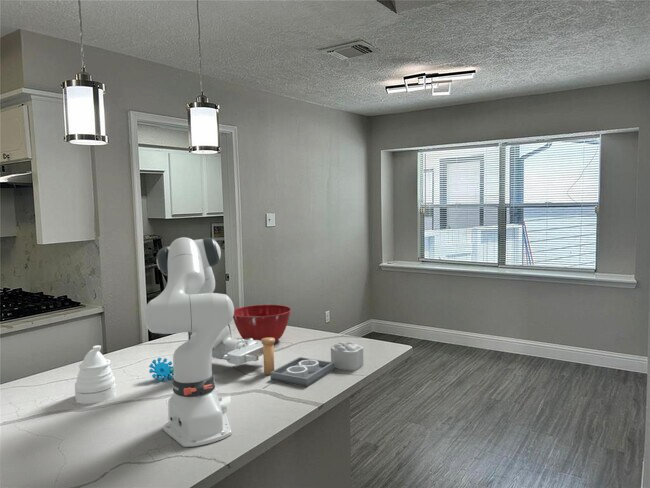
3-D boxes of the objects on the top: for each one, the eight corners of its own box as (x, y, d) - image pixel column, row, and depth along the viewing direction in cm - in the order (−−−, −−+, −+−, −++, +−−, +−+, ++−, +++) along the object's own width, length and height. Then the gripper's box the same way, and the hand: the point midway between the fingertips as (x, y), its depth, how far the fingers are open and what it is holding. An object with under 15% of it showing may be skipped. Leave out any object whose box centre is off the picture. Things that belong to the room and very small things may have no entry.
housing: (270, 380, 179) (270, 370, 178) (299, 364, 196) (299, 355, 196) (307, 387, 171) (306, 377, 170) (334, 369, 188) (333, 361, 188)
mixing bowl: (238, 334, 245) (237, 304, 244) (294, 332, 245) (293, 303, 243) (226, 350, 217) (225, 317, 215) (289, 349, 216) (288, 315, 215)
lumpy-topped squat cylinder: (353, 371, 186) (353, 349, 185) (325, 366, 193) (324, 345, 192) (366, 363, 194) (365, 342, 194) (338, 358, 201) (338, 338, 201)
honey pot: (124, 392, 171) (121, 342, 169) (93, 406, 159) (89, 353, 157) (98, 387, 176) (95, 339, 175) (67, 400, 164) (63, 349, 163)
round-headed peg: (278, 373, 185) (277, 339, 184) (265, 376, 183) (264, 341, 182) (272, 369, 190) (271, 336, 189) (260, 372, 187) (259, 338, 186)
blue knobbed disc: (153, 381, 176) (147, 357, 181) (148, 389, 179) (142, 366, 184) (181, 377, 184) (174, 355, 189) (176, 385, 187) (169, 363, 192)
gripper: (219, 349, 184) (247, 354, 177) (252, 336, 202) (279, 340, 195) (220, 366, 185) (248, 371, 178) (253, 351, 202) (280, 355, 195)
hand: (264, 355), depth 186 cm, fingers open, 8 cm apart
